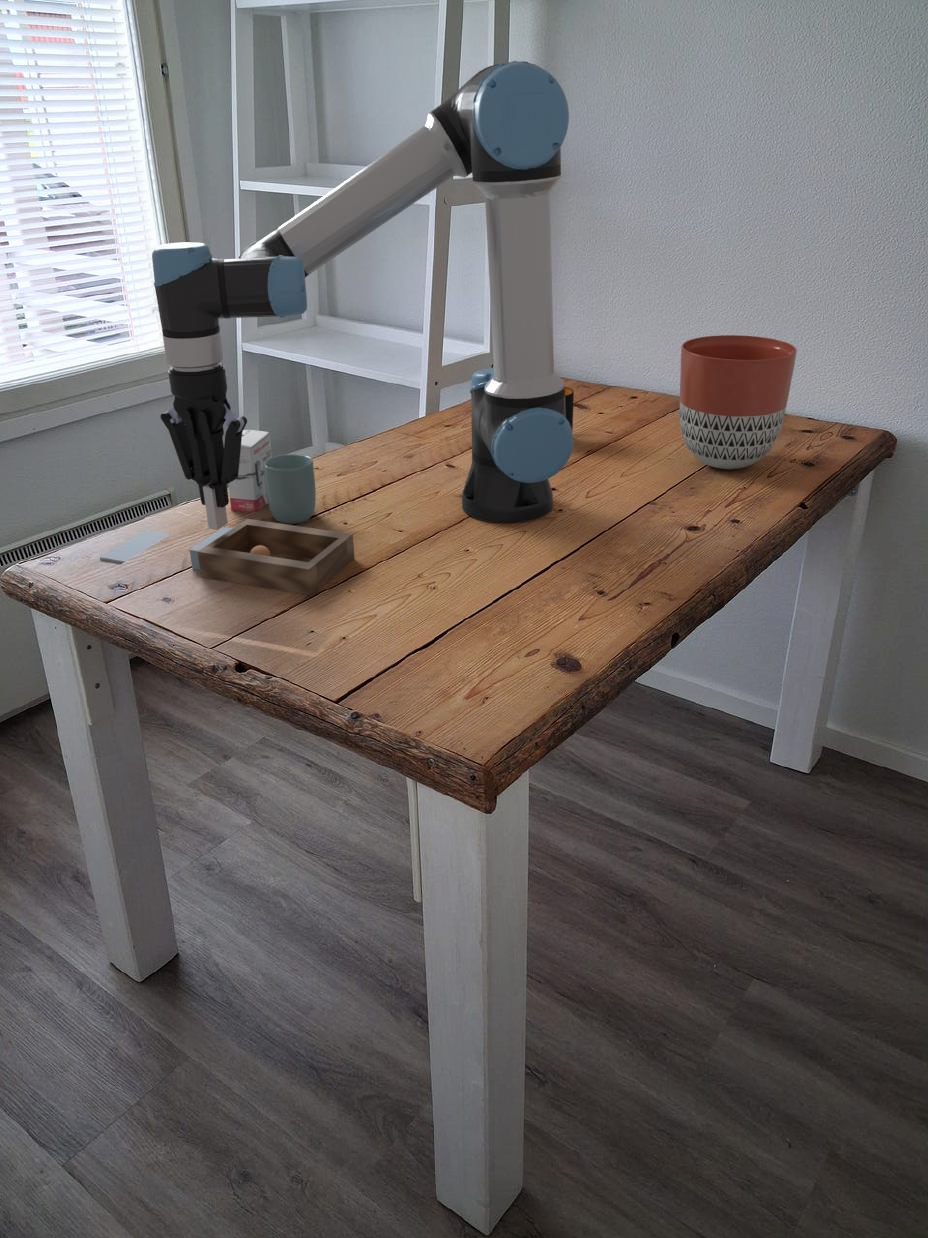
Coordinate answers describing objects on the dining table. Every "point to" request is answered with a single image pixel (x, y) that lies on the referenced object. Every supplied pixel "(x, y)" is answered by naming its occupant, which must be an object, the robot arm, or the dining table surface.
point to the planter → (733, 397)
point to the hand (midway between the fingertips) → (218, 525)
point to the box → (277, 556)
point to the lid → (149, 539)
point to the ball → (261, 550)
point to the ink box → (251, 472)
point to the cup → (290, 487)
